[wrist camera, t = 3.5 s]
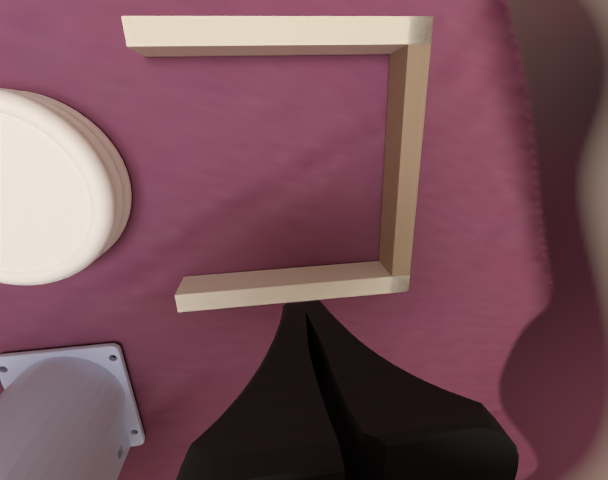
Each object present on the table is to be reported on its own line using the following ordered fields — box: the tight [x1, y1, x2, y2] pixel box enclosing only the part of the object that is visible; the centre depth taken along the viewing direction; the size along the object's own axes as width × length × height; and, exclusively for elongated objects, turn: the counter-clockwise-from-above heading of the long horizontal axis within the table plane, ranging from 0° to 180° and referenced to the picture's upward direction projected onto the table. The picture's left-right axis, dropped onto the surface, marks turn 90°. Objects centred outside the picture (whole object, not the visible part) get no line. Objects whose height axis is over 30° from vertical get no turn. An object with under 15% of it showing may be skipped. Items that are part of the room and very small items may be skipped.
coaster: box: [0, 88, 132, 285], centre depth 17 cm, size 10×10×4 cm
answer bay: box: [121, 16, 434, 312], centre depth 19 cm, size 15×15×2 cm
